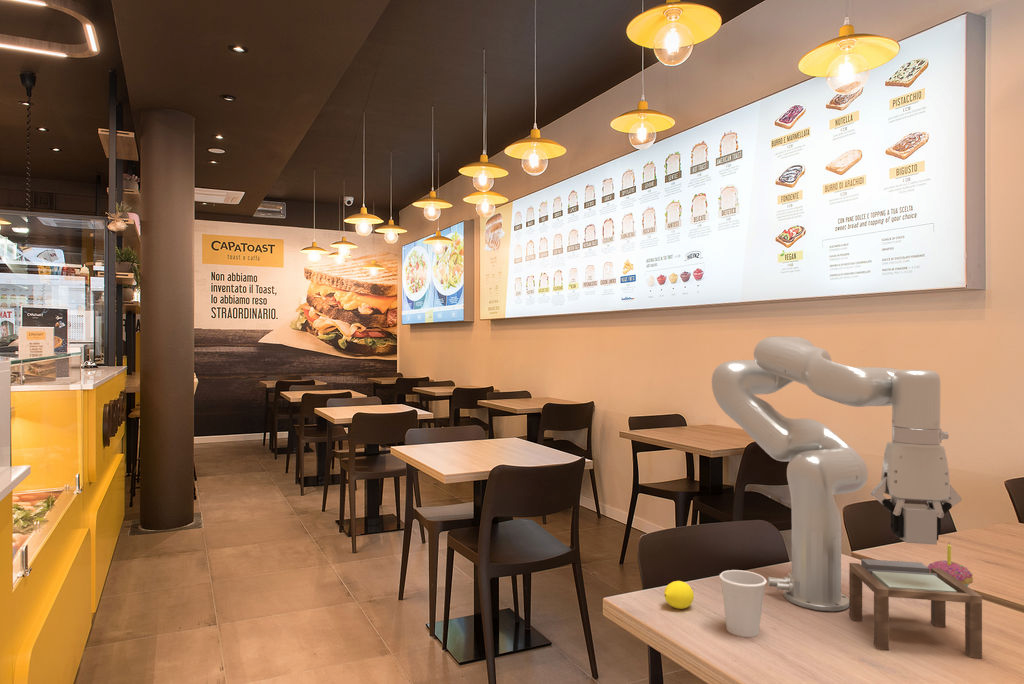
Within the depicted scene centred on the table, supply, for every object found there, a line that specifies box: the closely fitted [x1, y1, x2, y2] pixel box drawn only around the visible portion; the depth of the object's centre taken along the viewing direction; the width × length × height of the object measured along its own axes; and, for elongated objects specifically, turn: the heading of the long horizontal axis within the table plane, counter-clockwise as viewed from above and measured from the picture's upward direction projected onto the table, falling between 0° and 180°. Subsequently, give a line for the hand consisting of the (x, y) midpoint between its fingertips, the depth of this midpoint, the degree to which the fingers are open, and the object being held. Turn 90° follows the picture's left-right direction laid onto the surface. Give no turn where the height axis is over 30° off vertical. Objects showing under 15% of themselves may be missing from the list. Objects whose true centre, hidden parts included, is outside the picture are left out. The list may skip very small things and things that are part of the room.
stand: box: [848, 562, 983, 659], centre depth 120 cm, size 17×15×11 cm
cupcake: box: [927, 541, 974, 587], centre depth 142 cm, size 9×8×12 cm
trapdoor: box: [860, 558, 957, 593], centre depth 122 cm, size 12×14×3 cm
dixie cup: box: [719, 569, 768, 638], centre depth 122 cm, size 8×8×10 cm
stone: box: [897, 502, 938, 546], centre depth 118 cm, size 5×5×6 cm
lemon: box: [663, 580, 695, 610], centre depth 132 cm, size 7×5×5 cm
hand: (915, 535), depth 118 cm, fingers closed on stone, 5 cm apart
